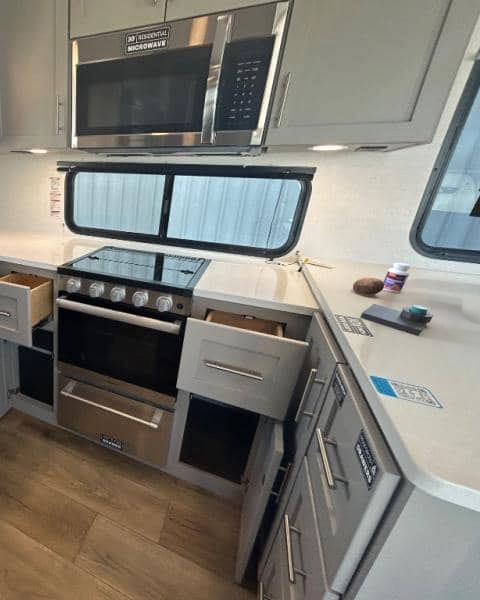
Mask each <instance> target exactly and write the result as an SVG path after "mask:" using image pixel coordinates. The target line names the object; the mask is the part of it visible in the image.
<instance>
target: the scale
mask: <svg viewBox="0 0 480 600" xmlns="http://www.w3.org/2000/svg"><path fill="white" fill-rule="evenodd" d="M411 308H412V307H403V308H402V310H401V311H400V310H397V309H393V308H390V307H387V306H383V305H380V304H377V303H372V305H370V306H369V307H368V308H366V309H365V310H364V311H362V313H361V314H360V319H363V320H366V321H368V322H373V323H375V324H377V325H378V324H379V325H382V326H385V327H388V328H392V329H394V330H398V331H401V332H404V333H407V334H410V335H413V336H416V337H418V336H419V335H420V334H421V332H422V331H423V330H424V328H426V325H427V324H429V323H430V322H431V321H432V319H433V317H434V315H433V314H432V313H430V312H429V311H427V312H426V314H425V315H421V314H417V313H413V312H411V311H410V310H411Z"/></svg>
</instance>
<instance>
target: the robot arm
mask: <svg viewBox="0 0 480 600" xmlns="http://www.w3.org/2000/svg"><path fill="white" fill-rule="evenodd" d="M478 192H480V187H479V189H478ZM468 217H473V218H480V195H479V196H478V198H477V199H476V202H475V203H474V205H473V206H472V209H471V211H470V213H469V214H468Z"/></svg>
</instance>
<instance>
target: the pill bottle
mask: <svg viewBox="0 0 480 600" xmlns="http://www.w3.org/2000/svg"><path fill="white" fill-rule="evenodd" d="M410 267H411V265H410V264H408V263H404V262H398V261H396V262H394V263H393V267H391V268H389V269H388V270H387V272H386V275H385V277H384V280H382V281H383V283H384V288H383V290H382V291H385V292H389V293H394V294H399V293H401V291H402V290H403V288H404V286H405V284H406V282H407V280H408V278H409V276H410V272H409V271H408V270H409V269H410Z"/></svg>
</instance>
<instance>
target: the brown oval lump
mask: <svg viewBox="0 0 480 600" xmlns="http://www.w3.org/2000/svg"><path fill="white" fill-rule="evenodd" d="M383 281H384V280H382V279H379V278H375V277H363V278H359V279H357V280H355V282H354V283H352V290H353V291H354V293H355V294H358V295H360V296H363V297H364V296H365V297H371V296H375V295H377V294H379V293H381V292H382V291H384V290H383V288H384V283H383Z"/></svg>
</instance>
